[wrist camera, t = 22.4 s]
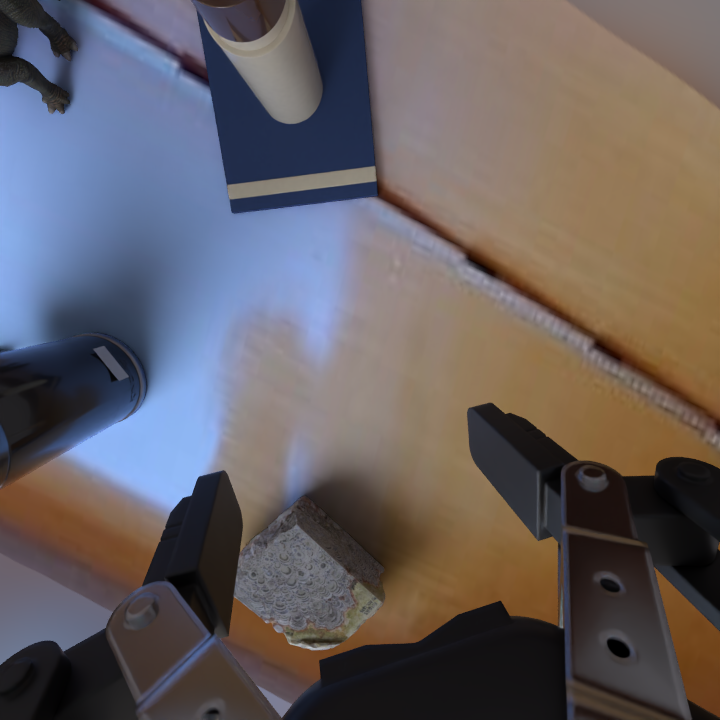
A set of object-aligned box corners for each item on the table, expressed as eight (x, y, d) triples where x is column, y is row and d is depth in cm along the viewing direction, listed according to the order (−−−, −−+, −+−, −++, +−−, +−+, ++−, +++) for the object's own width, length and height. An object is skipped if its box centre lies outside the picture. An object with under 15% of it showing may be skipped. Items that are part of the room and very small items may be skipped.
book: (233, 213, 33) (231, 212, 33) (192, -29, 29) (188, -35, 28) (377, 196, 32) (377, 194, 32) (356, -58, 28) (355, -64, 27)
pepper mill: (263, 128, 31) (156, 0, 16) (252, 53, 30) (126, -159, 15) (326, 119, 31) (276, -20, 16) (318, 43, 29) (255, -185, 15)
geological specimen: (285, 515, 35) (397, 618, 36) (300, 482, 41) (396, 571, 42) (213, 582, 36) (322, 678, 38) (237, 541, 42) (331, 625, 44)
